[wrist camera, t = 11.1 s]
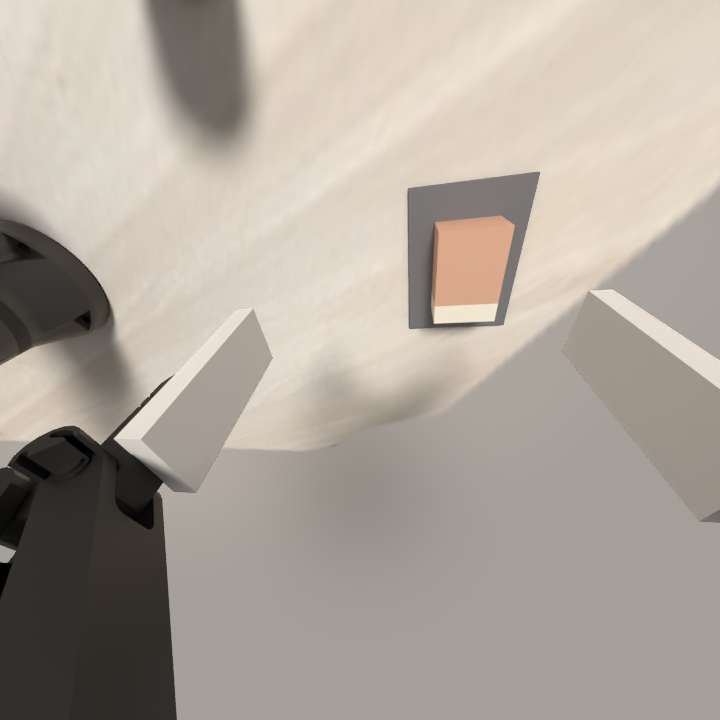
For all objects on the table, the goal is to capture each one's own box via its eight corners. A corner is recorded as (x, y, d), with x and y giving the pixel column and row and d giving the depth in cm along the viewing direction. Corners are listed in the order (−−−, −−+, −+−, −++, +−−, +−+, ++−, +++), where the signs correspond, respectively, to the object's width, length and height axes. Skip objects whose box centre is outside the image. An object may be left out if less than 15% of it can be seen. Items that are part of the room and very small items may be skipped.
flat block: (434, 222, 26) (438, 232, 23) (501, 215, 25) (515, 225, 22) (430, 306, 31) (433, 323, 28) (485, 303, 30) (494, 321, 27)
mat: (409, 326, 34) (409, 328, 34) (408, 188, 25) (408, 188, 24) (502, 323, 32) (503, 324, 32) (538, 171, 23) (540, 172, 22)
